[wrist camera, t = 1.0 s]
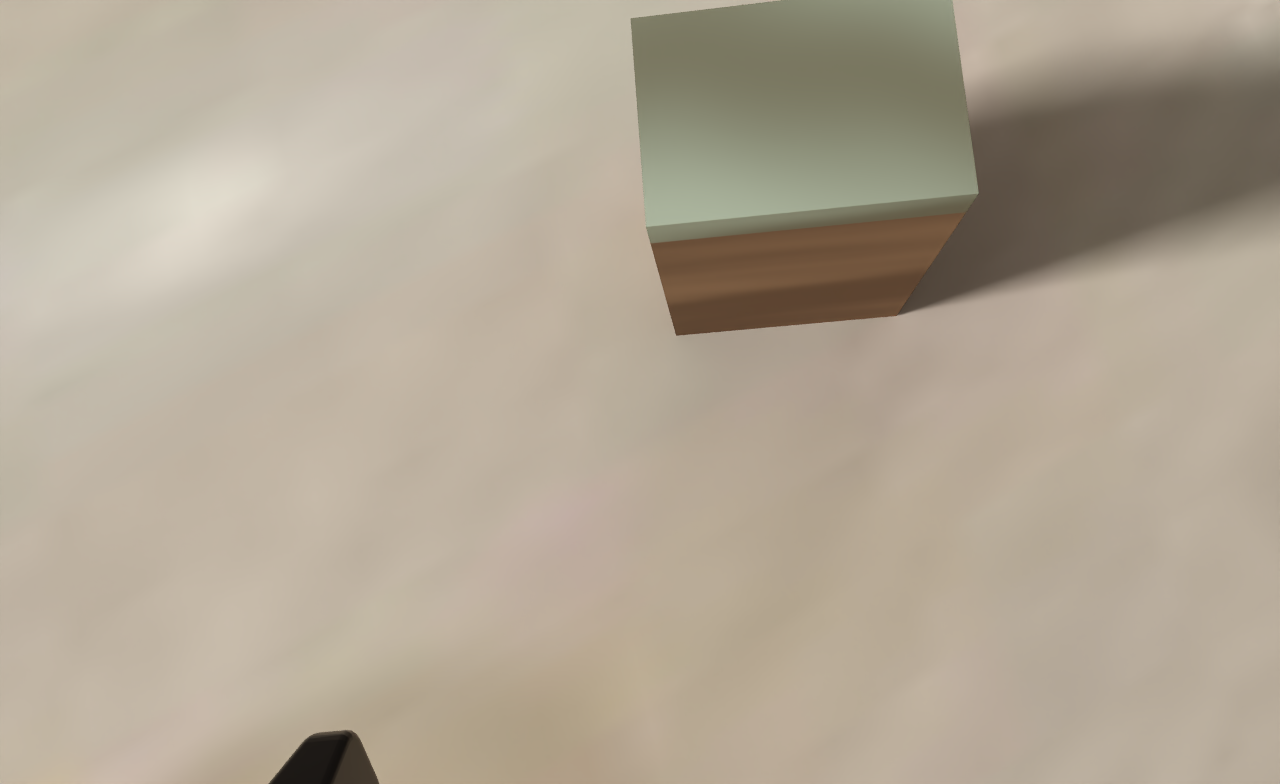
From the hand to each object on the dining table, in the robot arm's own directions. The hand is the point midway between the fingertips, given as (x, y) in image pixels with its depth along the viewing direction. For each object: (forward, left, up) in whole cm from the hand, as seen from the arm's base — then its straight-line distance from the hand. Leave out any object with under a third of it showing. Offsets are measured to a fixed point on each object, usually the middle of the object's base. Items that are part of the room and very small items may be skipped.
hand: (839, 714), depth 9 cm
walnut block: (+8, -1, -12) cm, 15 cm away
